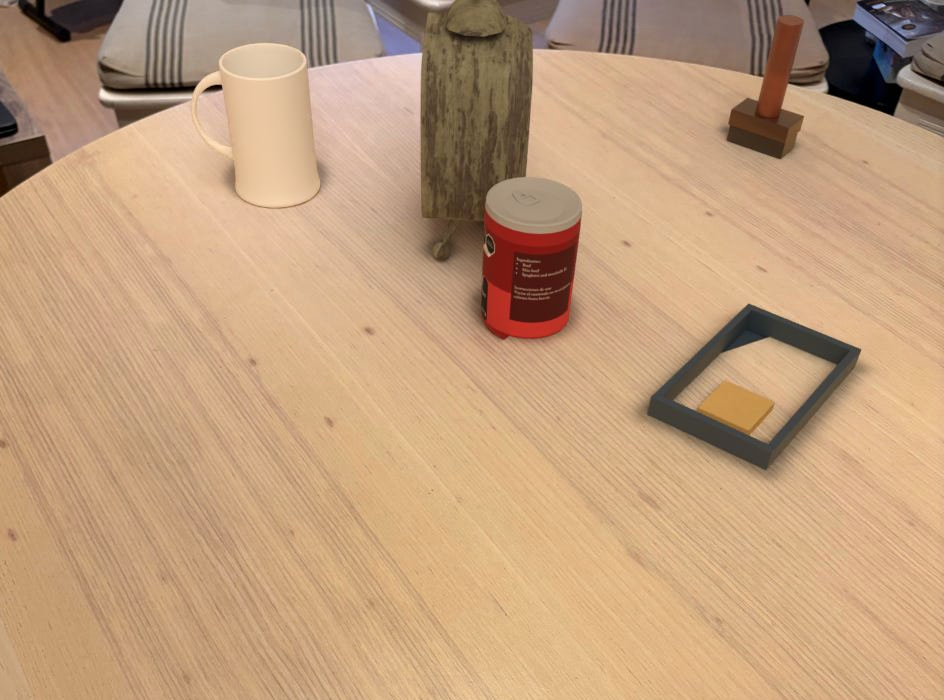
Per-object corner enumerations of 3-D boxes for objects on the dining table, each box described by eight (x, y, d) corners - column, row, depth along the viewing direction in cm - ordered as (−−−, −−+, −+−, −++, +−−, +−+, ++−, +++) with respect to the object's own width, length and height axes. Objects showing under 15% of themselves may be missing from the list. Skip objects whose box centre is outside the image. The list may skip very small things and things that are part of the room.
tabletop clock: (430, 191, 103) (430, -103, 84) (519, 195, 103) (540, -98, 84) (421, 270, 94) (419, -39, 75) (518, 274, 94) (542, -34, 75)
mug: (193, 200, 101) (168, 72, 92) (219, 159, 106) (198, 34, 97) (308, 212, 100) (295, 84, 91) (329, 170, 106) (319, 45, 96)
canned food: (510, 284, 93) (518, 166, 85) (585, 315, 90) (601, 196, 82) (462, 323, 89) (465, 203, 81) (538, 357, 86) (550, 236, 78)
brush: (740, 128, 114) (768, 5, 104) (795, 147, 111) (830, 23, 102) (724, 141, 112) (751, 16, 102) (780, 160, 109) (814, 34, 100)
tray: (740, 330, 90) (748, 302, 87) (851, 377, 86) (862, 349, 84) (644, 425, 81) (650, 396, 79) (762, 480, 77) (772, 452, 75)
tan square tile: (722, 389, 83) (725, 379, 82) (772, 411, 81) (775, 401, 81) (695, 417, 81) (697, 406, 80) (745, 440, 79) (749, 430, 78)
